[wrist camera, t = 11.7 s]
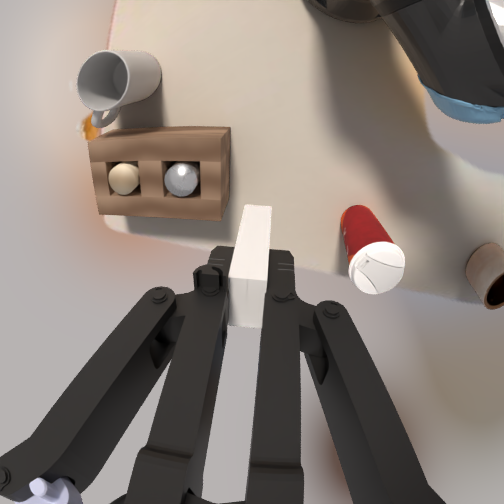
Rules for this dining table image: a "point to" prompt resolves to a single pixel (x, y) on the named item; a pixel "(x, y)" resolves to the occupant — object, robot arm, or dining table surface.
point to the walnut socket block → (163, 171)
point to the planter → (487, 275)
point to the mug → (116, 81)
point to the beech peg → (124, 177)
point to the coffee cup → (370, 252)
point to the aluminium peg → (183, 177)
